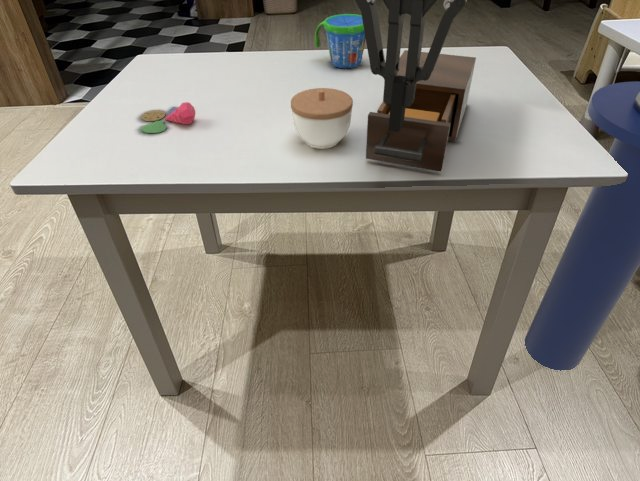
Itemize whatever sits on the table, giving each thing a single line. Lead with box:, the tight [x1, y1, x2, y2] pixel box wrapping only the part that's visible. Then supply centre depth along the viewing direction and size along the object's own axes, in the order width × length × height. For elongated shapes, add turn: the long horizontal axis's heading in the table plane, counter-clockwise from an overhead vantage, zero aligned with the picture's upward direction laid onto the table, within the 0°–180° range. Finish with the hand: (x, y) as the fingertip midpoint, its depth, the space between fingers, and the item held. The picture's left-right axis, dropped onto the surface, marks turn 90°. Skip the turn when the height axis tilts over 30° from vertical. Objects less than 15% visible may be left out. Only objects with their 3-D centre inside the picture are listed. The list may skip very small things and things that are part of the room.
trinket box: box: [290, 87, 354, 150], centre depth 80 cm, size 11×11×9 cm
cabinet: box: [382, 49, 477, 143], centre depth 86 cm, size 16×14×10 cm
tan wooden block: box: [389, 108, 440, 122], centre depth 76 cm, size 8×4×5 cm, turn 69°
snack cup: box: [314, 13, 366, 69], centre depth 109 cm, size 16×10×10 cm
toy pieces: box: [140, 101, 196, 134], centre depth 89 cm, size 12×11×4 cm
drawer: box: [365, 88, 457, 173], centre depth 75 cm, size 20×13×8 cm, turn 159°
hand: (396, 126), depth 62 cm, fingers closed
